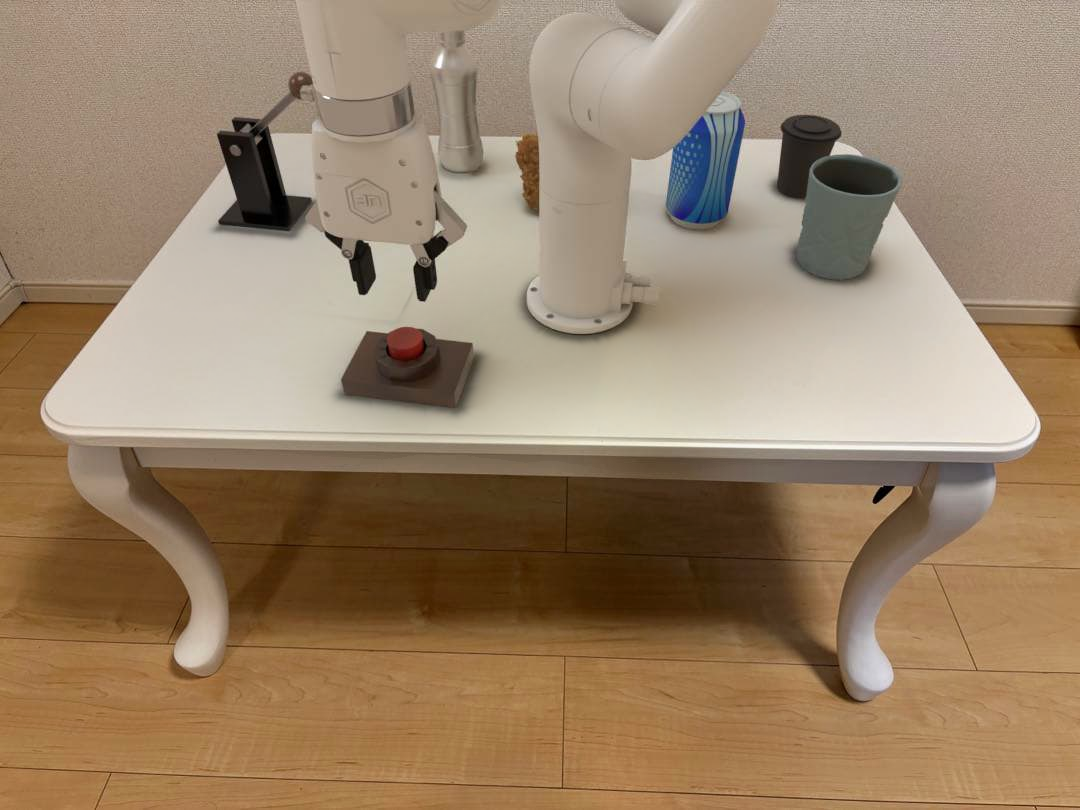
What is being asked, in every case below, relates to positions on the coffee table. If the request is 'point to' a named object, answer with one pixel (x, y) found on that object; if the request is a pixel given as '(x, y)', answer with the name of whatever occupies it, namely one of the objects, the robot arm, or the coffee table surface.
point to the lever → (280, 104)
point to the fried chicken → (529, 168)
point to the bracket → (257, 182)
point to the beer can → (706, 166)
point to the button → (405, 343)
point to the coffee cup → (803, 150)
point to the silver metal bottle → (456, 103)
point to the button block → (409, 371)
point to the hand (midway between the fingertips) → (396, 288)
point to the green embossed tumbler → (844, 214)
